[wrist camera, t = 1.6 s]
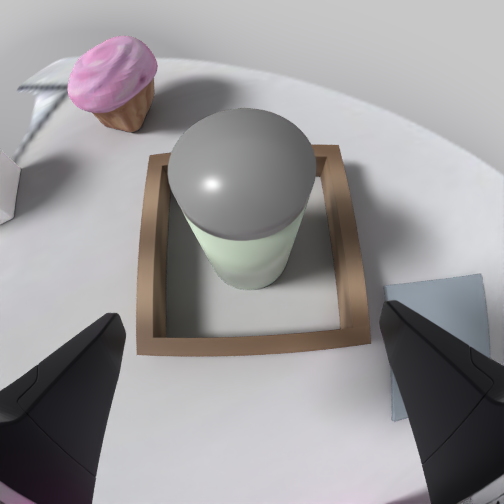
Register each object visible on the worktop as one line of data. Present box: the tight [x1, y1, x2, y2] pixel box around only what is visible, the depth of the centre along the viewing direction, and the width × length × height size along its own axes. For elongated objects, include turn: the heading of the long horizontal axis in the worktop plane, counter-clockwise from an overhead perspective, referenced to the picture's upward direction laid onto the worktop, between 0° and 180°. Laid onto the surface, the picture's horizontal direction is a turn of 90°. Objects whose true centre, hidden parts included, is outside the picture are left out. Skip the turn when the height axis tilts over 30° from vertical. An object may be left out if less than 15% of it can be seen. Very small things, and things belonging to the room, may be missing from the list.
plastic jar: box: [168, 108, 316, 290], centre depth 17 cm, size 6×6×12 cm
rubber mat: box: [384, 274, 490, 422], centre depth 20 cm, size 11×11×1 cm
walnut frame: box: [136, 145, 371, 356], centre depth 21 cm, size 15×15×3 cm
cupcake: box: [68, 36, 158, 132], centre depth 23 cm, size 9×9×10 cm
